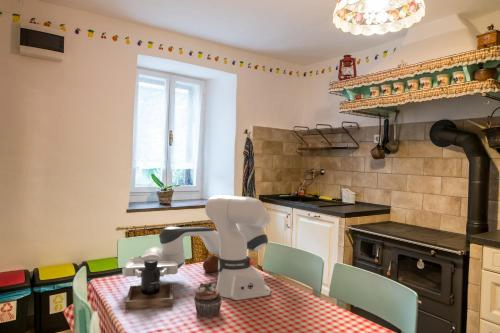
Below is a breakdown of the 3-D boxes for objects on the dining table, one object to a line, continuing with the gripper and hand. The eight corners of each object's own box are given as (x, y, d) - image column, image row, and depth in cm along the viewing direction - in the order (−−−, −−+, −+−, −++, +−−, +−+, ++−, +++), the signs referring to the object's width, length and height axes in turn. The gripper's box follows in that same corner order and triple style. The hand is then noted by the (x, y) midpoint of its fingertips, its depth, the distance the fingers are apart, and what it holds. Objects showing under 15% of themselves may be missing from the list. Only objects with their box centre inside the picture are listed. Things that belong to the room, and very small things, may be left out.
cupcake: (197, 320, 113) (198, 290, 113) (191, 309, 122) (192, 281, 122) (225, 316, 117) (226, 287, 117) (217, 305, 126) (217, 278, 126)
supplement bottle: (154, 296, 125) (154, 263, 125) (137, 295, 127) (137, 262, 127) (163, 289, 132) (163, 258, 132) (146, 288, 133) (147, 257, 133)
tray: (171, 291, 139) (172, 283, 139) (172, 307, 123) (172, 298, 123) (130, 293, 135) (130, 286, 135) (125, 310, 120) (125, 301, 120)
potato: (198, 273, 162) (198, 257, 162) (208, 267, 172) (208, 252, 172) (214, 275, 159) (215, 259, 159) (224, 269, 169) (224, 254, 169)
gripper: (177, 270, 144) (178, 281, 131) (126, 273, 140) (122, 284, 126) (178, 255, 144) (179, 265, 131) (126, 257, 140) (122, 267, 126)
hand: (150, 274), depth 128 cm, fingers closed on supplement bottle, 7 cm apart
